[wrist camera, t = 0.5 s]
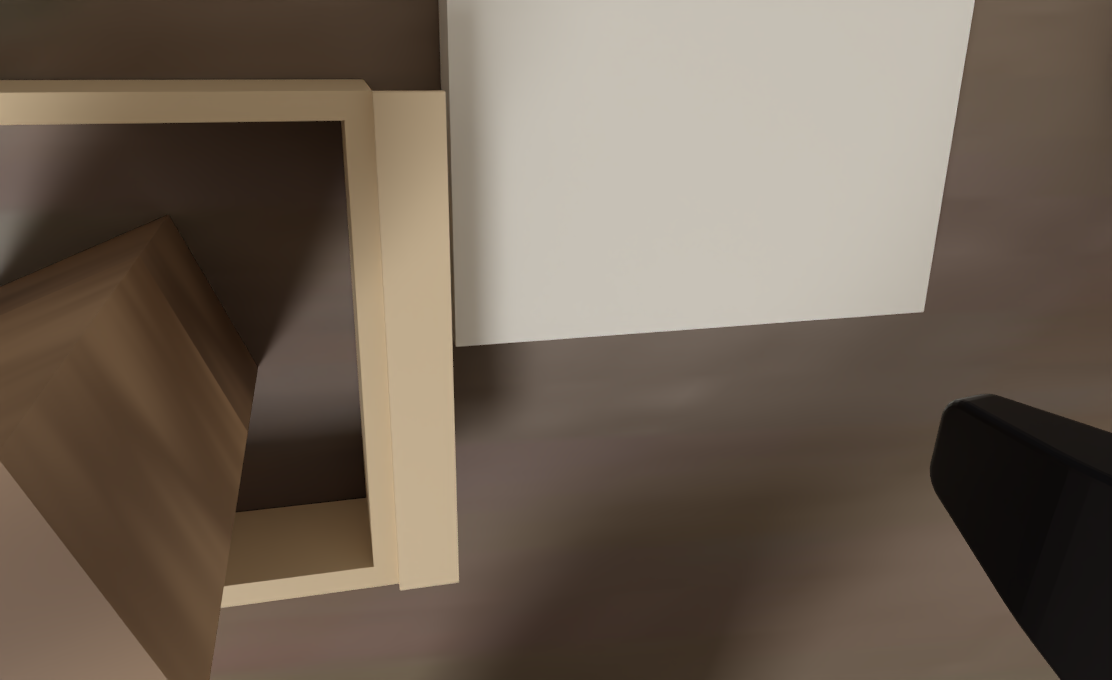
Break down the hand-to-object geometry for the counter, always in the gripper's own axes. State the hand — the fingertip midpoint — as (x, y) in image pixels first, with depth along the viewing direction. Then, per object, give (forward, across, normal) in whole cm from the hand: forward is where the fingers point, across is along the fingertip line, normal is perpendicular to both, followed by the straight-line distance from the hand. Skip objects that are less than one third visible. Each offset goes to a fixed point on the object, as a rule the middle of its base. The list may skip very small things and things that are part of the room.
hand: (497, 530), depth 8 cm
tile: (+16, -9, +2) cm, 19 cm away
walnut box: (+16, +6, +6) cm, 18 cm away
